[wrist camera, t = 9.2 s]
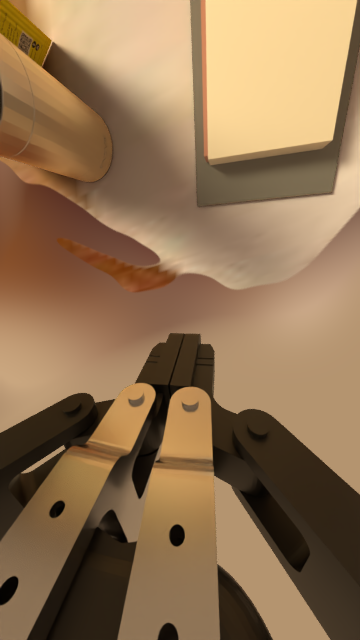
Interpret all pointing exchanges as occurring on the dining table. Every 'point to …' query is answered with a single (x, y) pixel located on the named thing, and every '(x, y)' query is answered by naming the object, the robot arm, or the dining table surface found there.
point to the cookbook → (272, 75)
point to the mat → (275, 171)
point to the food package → (23, 32)
